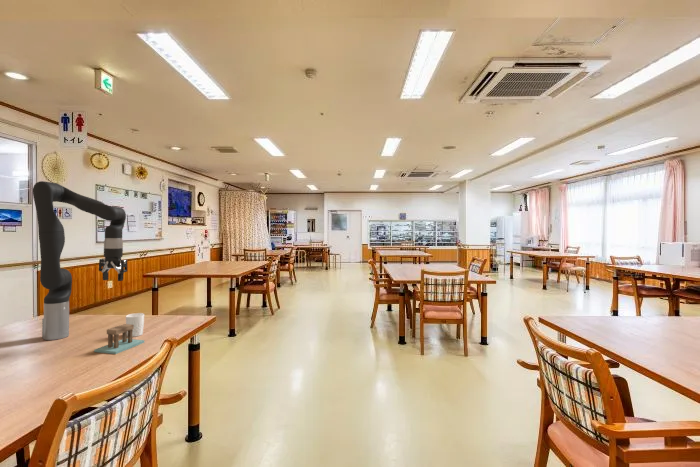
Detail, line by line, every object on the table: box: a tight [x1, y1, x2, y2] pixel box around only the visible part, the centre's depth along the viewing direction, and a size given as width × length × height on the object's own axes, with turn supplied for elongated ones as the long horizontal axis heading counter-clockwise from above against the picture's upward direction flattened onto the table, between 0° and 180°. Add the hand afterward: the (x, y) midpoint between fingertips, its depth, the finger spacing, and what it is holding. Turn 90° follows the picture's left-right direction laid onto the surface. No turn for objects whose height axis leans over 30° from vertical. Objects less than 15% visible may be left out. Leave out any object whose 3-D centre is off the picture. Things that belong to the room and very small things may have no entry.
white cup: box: [125, 312, 145, 338], centre depth 165 cm, size 8×8×10 cm
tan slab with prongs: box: [106, 323, 134, 348], centre depth 148 cm, size 9×5×8 cm, turn 169°
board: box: [93, 338, 145, 355], centre depth 148 cm, size 11×15×1 cm
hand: (112, 280), depth 160 cm, fingers open, 8 cm apart
